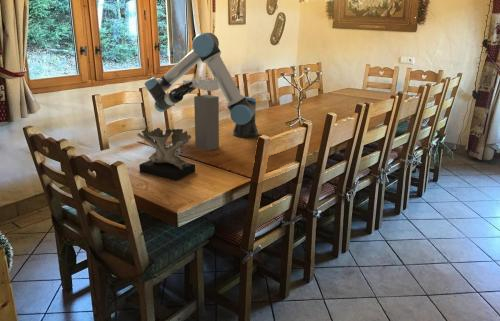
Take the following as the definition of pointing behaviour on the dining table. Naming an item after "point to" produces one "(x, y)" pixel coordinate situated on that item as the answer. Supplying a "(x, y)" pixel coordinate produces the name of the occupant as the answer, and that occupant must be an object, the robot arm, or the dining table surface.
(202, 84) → the jaw bar
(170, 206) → the dining table surface
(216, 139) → the stand
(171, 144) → the coral branch
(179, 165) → the coral
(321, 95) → the dining table surface
